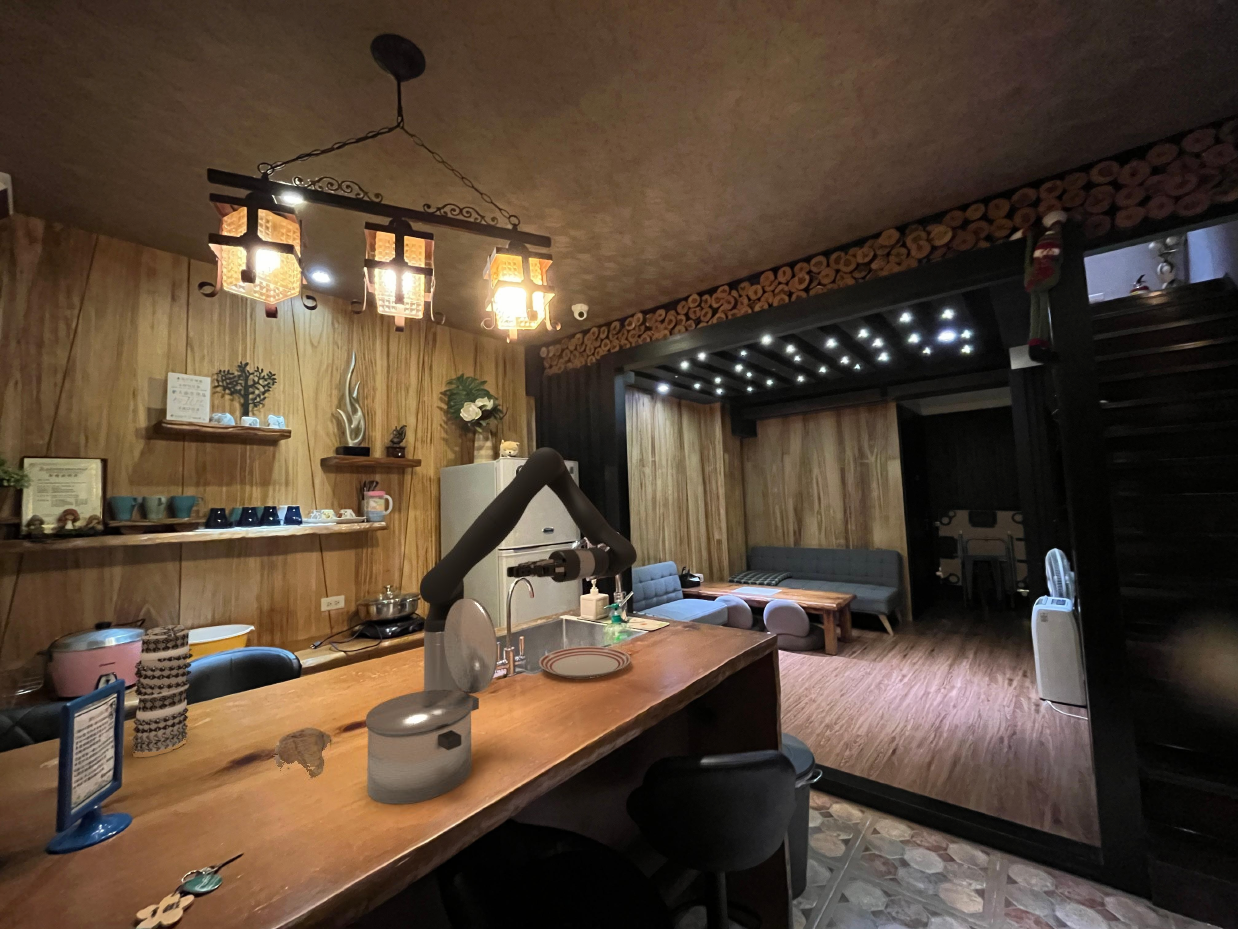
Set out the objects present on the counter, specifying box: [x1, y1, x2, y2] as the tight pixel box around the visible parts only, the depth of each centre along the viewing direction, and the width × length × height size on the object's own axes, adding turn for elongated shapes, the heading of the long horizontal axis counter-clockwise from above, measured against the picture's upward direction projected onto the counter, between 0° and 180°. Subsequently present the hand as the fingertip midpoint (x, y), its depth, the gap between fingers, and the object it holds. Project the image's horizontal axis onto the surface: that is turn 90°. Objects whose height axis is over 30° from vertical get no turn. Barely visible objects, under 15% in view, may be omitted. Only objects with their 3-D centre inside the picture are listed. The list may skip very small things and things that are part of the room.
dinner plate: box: [538, 645, 632, 679], centre depth 150 cm, size 28×27×3 cm
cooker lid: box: [444, 597, 499, 695], centre depth 101 cm, size 18×18×5 cm
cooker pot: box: [365, 690, 480, 805], centre depth 91 cm, size 22×19×12 cm
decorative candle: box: [131, 624, 194, 753], centre depth 107 cm, size 9×9×25 cm
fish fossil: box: [273, 726, 331, 779], centre depth 100 cm, size 26×10×1 cm, turn 40°
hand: (511, 572), depth 108 cm, fingers closed
